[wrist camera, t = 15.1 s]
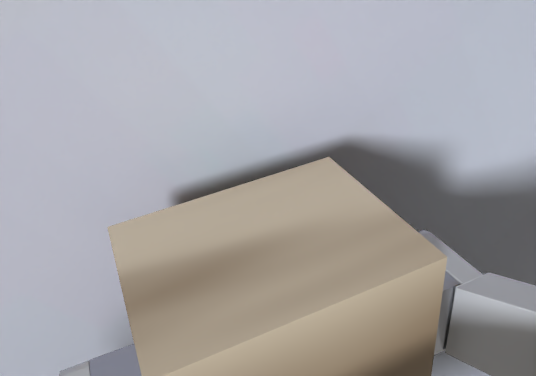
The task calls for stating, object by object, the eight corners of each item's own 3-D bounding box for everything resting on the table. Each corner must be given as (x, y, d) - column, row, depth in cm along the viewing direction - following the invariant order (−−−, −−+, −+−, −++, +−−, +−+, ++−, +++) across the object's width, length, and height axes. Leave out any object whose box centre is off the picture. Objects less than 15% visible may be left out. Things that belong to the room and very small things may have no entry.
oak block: (334, 308, 12) (423, 426, 9) (164, 380, 11) (209, 541, 8) (328, 156, 10) (447, 256, 7) (107, 227, 8) (143, 383, 6)
